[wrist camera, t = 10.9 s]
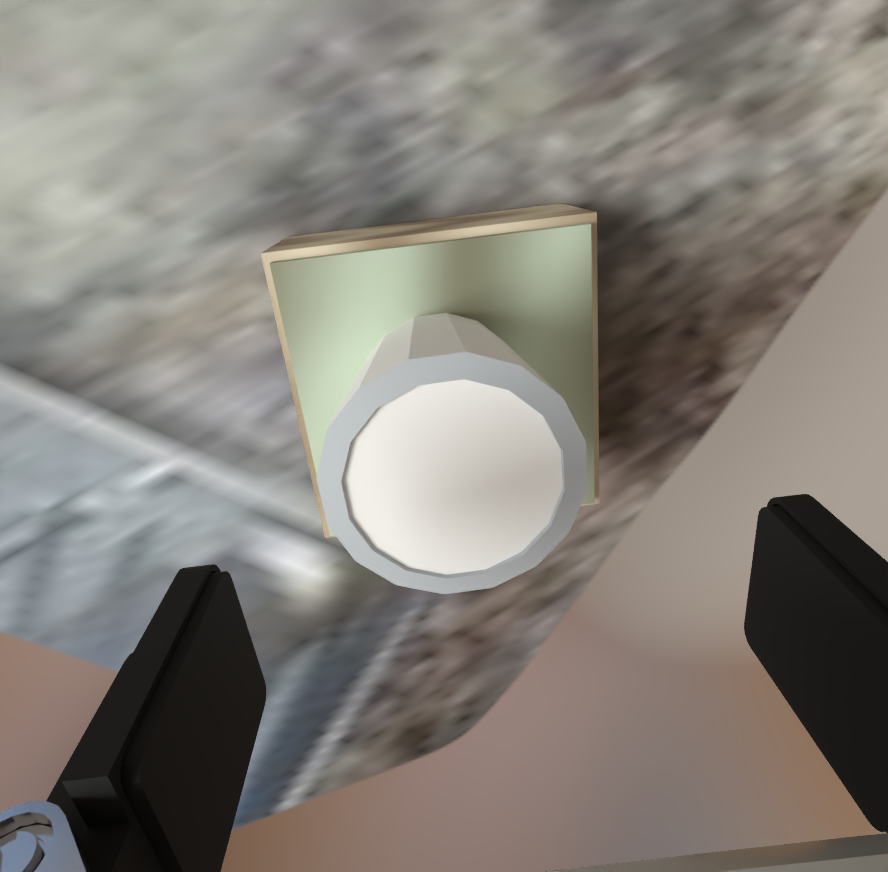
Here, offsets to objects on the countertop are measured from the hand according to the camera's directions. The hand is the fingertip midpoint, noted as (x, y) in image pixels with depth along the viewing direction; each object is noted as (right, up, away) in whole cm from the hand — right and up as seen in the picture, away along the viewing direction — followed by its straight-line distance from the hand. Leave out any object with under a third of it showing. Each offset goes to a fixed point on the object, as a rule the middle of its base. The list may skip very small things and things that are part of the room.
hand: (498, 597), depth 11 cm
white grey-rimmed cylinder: (-1, +4, +11) cm, 12 cm away
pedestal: (-1, +6, +16) cm, 17 cm away
